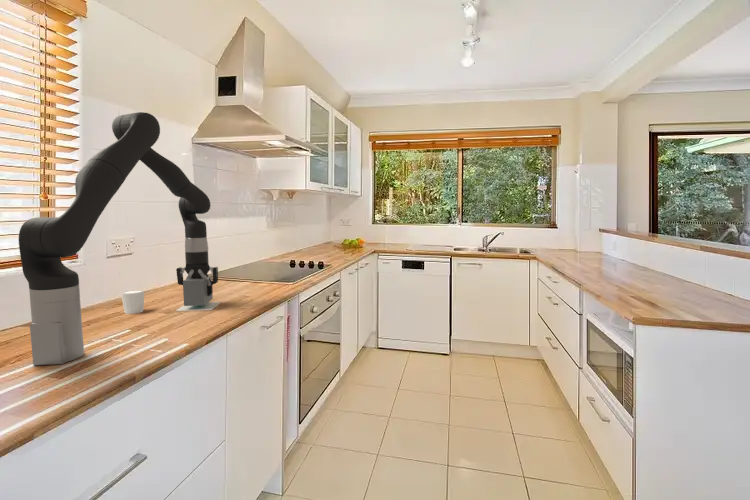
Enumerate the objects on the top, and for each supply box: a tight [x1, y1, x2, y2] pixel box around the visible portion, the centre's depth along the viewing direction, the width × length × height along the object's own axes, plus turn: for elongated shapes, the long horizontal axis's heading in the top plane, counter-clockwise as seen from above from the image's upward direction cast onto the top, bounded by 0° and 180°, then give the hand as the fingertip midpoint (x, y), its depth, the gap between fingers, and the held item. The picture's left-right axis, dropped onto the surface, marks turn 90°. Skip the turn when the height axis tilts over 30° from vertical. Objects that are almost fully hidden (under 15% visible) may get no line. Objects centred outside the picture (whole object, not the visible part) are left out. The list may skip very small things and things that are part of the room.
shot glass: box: [121, 289, 145, 315], centre depth 141 cm, size 7×7×7 cm
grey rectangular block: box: [182, 275, 214, 306], centre depth 148 cm, size 11×7×9 cm, turn 7°
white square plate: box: [175, 301, 221, 312], centre depth 149 cm, size 12×12×1 cm
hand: (198, 295), depth 149 cm, fingers closed on grey rectangular block, 7 cm apart
